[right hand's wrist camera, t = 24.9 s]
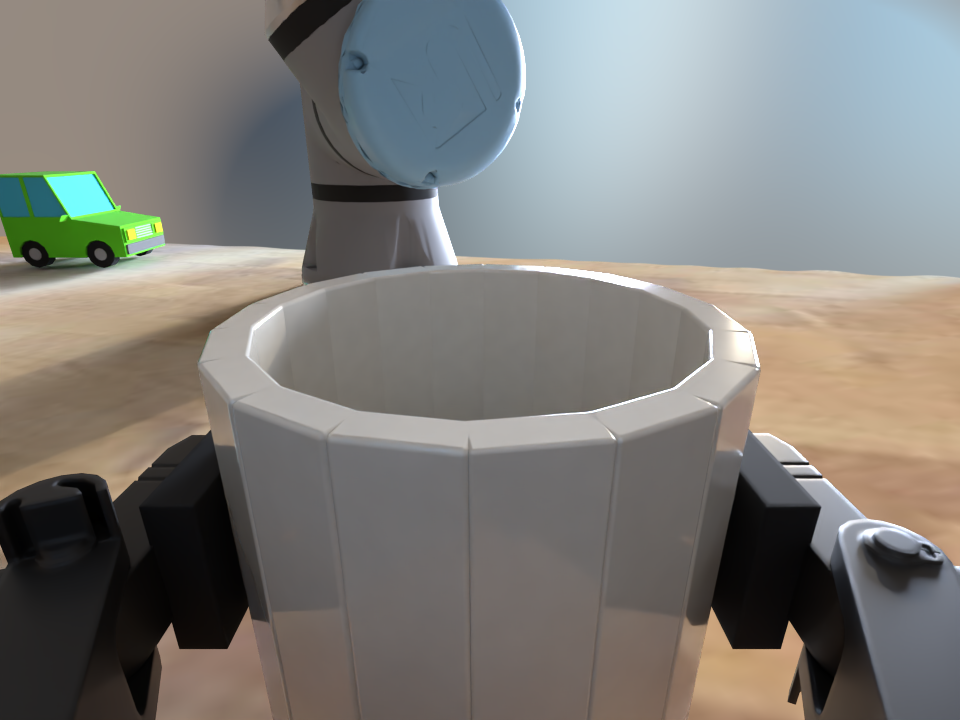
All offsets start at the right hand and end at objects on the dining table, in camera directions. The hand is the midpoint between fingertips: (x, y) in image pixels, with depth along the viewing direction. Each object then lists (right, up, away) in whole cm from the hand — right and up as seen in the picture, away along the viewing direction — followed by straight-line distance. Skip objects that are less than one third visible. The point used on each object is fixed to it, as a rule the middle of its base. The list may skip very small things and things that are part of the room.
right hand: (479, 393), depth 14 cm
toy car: (-46, +13, +51) cm, 70 cm away
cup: (0, -8, -2) cm, 8 cm away
